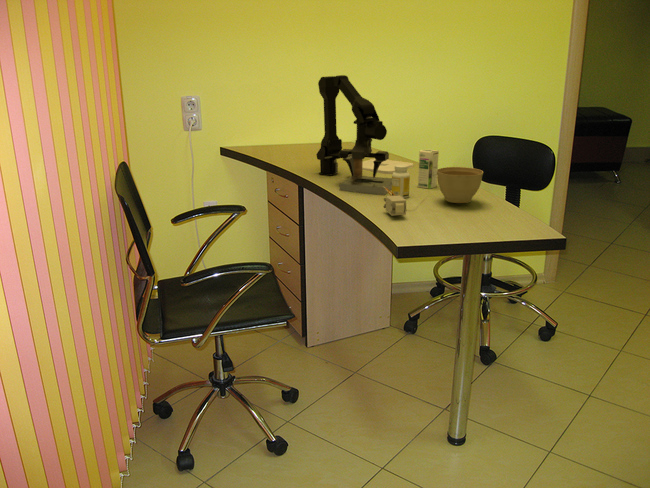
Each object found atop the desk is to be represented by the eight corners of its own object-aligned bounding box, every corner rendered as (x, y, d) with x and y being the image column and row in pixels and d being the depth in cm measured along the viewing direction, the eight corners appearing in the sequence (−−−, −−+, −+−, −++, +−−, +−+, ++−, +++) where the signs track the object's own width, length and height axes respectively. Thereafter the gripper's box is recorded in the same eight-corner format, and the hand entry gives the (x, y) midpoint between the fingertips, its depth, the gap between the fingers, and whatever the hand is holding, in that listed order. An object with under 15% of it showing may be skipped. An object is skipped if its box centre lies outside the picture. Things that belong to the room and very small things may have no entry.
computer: (390, 178, 260) (390, 171, 259) (347, 171, 272) (347, 165, 271) (415, 169, 276) (416, 163, 275) (374, 163, 289) (374, 158, 288)
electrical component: (371, 199, 224) (371, 185, 223) (386, 198, 226) (387, 184, 224) (391, 216, 202) (391, 201, 201) (408, 215, 203) (409, 200, 202)
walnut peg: (347, 180, 252) (347, 153, 249) (352, 178, 258) (352, 150, 254) (361, 182, 250) (361, 154, 247) (365, 179, 256) (366, 151, 252)
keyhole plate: (339, 191, 236) (339, 183, 235) (352, 182, 250) (353, 175, 249) (384, 195, 229) (384, 187, 228) (395, 186, 243) (396, 178, 242)
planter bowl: (490, 202, 219) (492, 172, 216) (457, 208, 211) (459, 177, 208) (458, 192, 232) (460, 164, 229) (426, 198, 224) (427, 169, 221)
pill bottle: (410, 195, 229) (411, 164, 225) (407, 199, 223) (408, 168, 220) (393, 194, 231) (394, 163, 227) (389, 198, 225) (390, 166, 222)
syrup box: (417, 187, 241) (418, 150, 237) (424, 184, 246) (426, 148, 241) (430, 189, 238) (432, 152, 233) (437, 186, 243) (439, 150, 238)
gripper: (333, 138, 230) (333, 179, 235) (381, 141, 223) (380, 183, 228) (343, 134, 240) (343, 173, 245) (389, 136, 233) (388, 177, 238)
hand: (363, 176), depth 239 cm, fingers open, 8 cm apart
